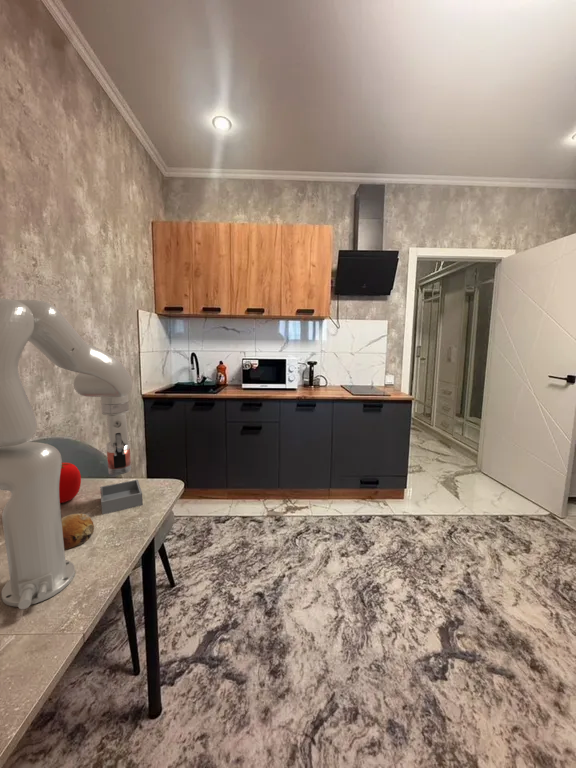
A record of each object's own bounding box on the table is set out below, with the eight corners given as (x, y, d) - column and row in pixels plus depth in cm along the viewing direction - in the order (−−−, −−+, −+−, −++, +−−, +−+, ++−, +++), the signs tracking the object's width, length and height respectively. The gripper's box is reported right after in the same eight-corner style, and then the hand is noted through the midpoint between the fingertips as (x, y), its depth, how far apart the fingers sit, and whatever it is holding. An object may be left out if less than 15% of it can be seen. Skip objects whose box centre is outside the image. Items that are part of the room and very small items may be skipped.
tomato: (67, 510, 100) (63, 471, 98) (29, 509, 100) (24, 470, 98) (91, 491, 112) (88, 455, 110) (57, 490, 112) (54, 455, 110)
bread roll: (90, 537, 93) (84, 509, 94) (102, 536, 86) (95, 506, 88) (48, 554, 86) (42, 523, 87) (57, 554, 79) (50, 521, 80)
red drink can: (132, 472, 103) (130, 444, 102) (108, 476, 100) (106, 448, 98) (130, 464, 109) (128, 438, 107) (107, 468, 105) (105, 441, 104)
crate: (142, 505, 104) (142, 493, 103) (102, 514, 98) (101, 502, 97) (138, 490, 113) (137, 479, 113) (101, 498, 107) (100, 486, 107)
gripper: (131, 412, 95) (135, 470, 98) (126, 401, 110) (129, 452, 113) (102, 415, 92) (107, 476, 94) (100, 403, 106) (104, 456, 109)
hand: (119, 462), depth 104 cm, fingers closed on red drink can, 6 cm apart
